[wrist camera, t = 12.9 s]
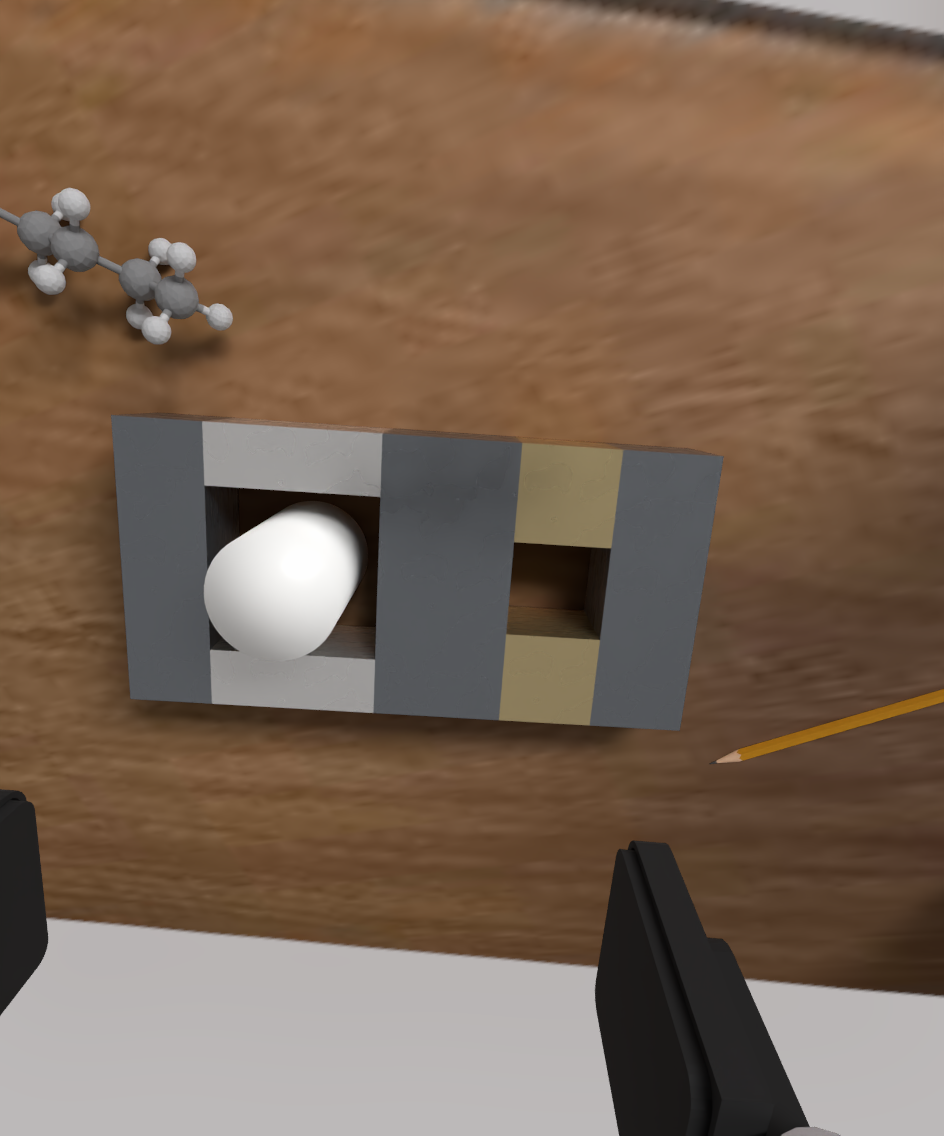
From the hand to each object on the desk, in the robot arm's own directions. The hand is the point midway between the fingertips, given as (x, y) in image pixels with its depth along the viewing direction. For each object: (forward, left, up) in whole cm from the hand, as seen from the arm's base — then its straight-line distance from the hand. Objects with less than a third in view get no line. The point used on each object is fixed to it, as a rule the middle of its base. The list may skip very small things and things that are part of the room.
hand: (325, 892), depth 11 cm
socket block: (0, 0, -22) cm, 22 cm away
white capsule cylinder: (0, -5, -22) cm, 22 cm away
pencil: (+6, +24, -22) cm, 33 cm away
